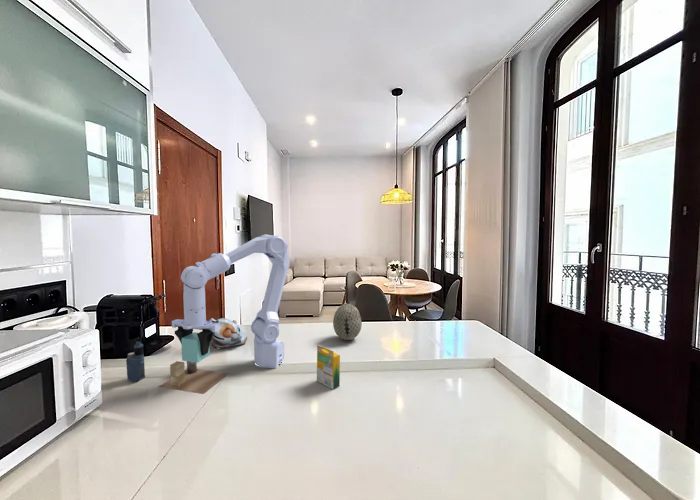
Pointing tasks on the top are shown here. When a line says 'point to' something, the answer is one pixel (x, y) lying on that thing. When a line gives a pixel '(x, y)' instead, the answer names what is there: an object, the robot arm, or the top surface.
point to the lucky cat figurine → (227, 334)
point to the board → (197, 381)
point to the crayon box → (328, 367)
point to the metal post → (191, 367)
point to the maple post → (177, 373)
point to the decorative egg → (347, 322)
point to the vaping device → (136, 364)
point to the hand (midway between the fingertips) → (196, 352)
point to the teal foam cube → (192, 349)
